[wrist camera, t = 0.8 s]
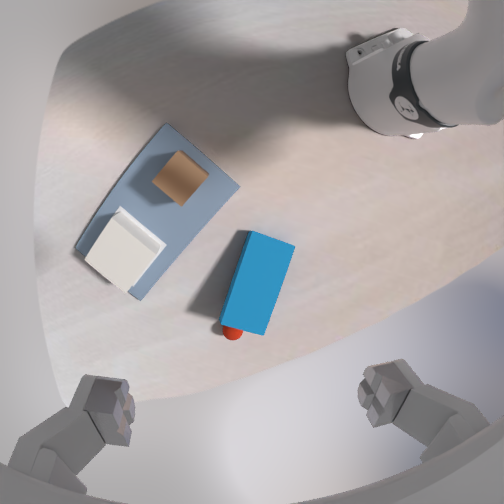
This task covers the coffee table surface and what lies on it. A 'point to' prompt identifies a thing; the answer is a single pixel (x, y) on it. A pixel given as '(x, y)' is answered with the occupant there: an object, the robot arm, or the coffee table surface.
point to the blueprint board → (161, 204)
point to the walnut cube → (180, 177)
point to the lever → (255, 285)
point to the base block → (122, 252)
